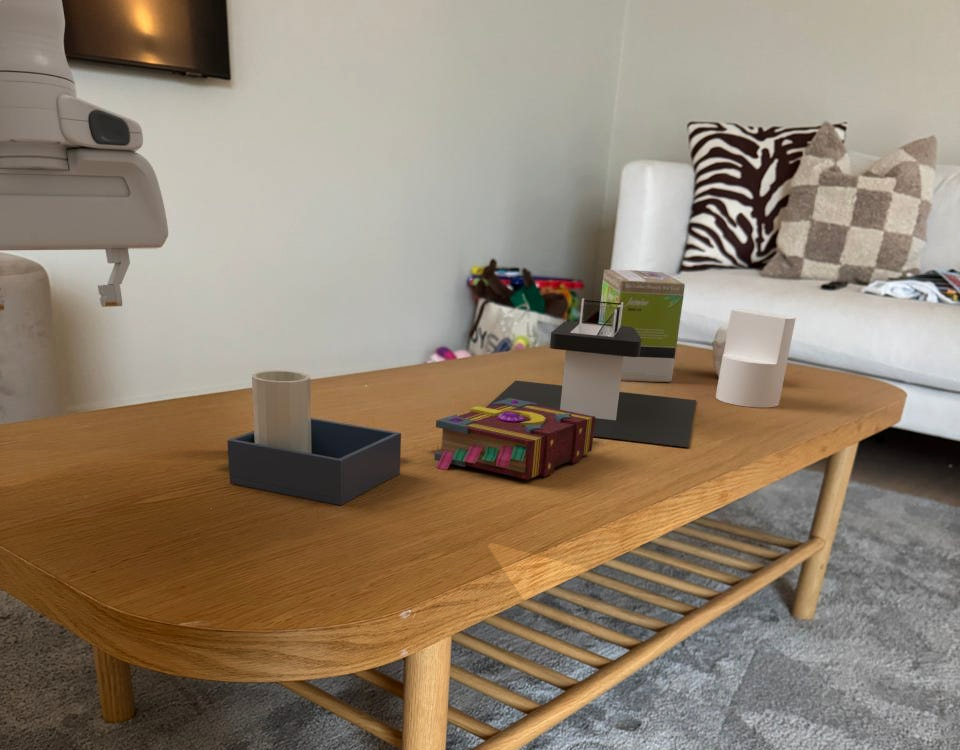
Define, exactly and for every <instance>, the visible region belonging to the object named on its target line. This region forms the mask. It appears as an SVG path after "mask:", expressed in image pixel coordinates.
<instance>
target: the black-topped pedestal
mask: <svg viewBox="0 0 960 750" xmlns="http://www.w3.org/2000/svg"><path fill="white" fill-rule="evenodd" d="M602 303H604V308H603V311H604V310H605V307H606V306H605V303H607V307H608V303H609V304H610V307H611V304H613V307H614V304H615V305H616V307H614V308H617V304H618V305H619V304H621V305H619V307H618V308H617V309H616V310H615V312H614V309H612V312H614V313H613V314H612V313H610V316H611V317H608V320H609V321H610V323H611V325H610V323H609V322H608V320H607V321H606V322H605V321H602V320H603V319H604V316H603V317H602V320H601V321H599V319H601V316H599V315H600V310H602V307H600V304H601V306H602ZM611 308H612V307H611ZM611 308H610V309H609V312H610V311H611ZM622 309H623V302H621V303H612V302H601V300H589V299H588V300H587V299H585V298H581V305H580V313H579V314H580V315H579V321H574V320H573V321H563V322H562V323H561V324H559V325H558V326H557V327H555V328H554V329H553V330H552V331H551V332H550V339H549V340H550V342H549V349H551V350H557V351H558V350H559V351H565V356H564V365H563V375H562V376H563V377H562V385H560V384H552V383H544V382H533V381H526V380H525V381H524V380H514V381H513V382H512V383H511V384H509V386H508V387H506V389H505V390H503V391H502V392H501V393H500V394H499V395H497V396H496V397H495V398H494V399H493V400H492V401H491V402H490V403H489V404H488V405H487V406H486V407H489V406H492V403H495V402H498V401H502V400H505V399H508V398H512V399H517V400H522V401H527V402H532V403H537V404H538V406H543V407H548V408H554V409H559V410H564V411H569V412H574V413H579V414H585V415H590V416H595V425H594V434H593V437H597V438H606V439H615V440H623V441H631V442H640V443H648V444H657V445H665V446H674V447H683V448H689V446H690V440H691V434H692V428H693V421H694V415H695V410H696V402H697V400H696V399H689V398H682V397H681V398H679V397H670V396H663V395H652V394H643V393H634V392H627V391H625V392H624V391H620V389H621V382H622V380H621V375H622V367H623V359H624V356H626V357H639V355H640V349H641V341H642V339H641V338H640V336H639V335H638V333H637V332H636V330H635V329H634V328H633V327H628V326H621V318H622ZM603 311H602V312H601V315H602V314H603ZM606 311H608V308H606ZM609 312H608V313H607V316H608V315H609ZM604 315H606V312H604ZM607 316H606V317H605V320H606V319H607ZM612 316H613V317H612ZM610 318H611V319H610ZM613 318H614V319H613ZM612 320H613V322H612ZM600 322H602V324H599V323H600ZM603 322H605V324H603ZM606 323H608V324H606Z"/></svg>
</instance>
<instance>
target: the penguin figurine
mask: <svg viewBox="0 0 960 750" xmlns="http://www.w3.org/2000/svg"><path fill="white" fill-rule="evenodd" d="M728 325H729V320H727V321H726V322H724V323H723V324H721V325H720V326H719V327H718V329H717V330H716V332H715V335H714V339H713V341H712V343H711V346H712V360H713V368H714V371H715V373H716V375H717V376H718V378H719V374H720V368H721V362H722V357H723V354H724V349H725V343H726V337H727V331H728Z"/></svg>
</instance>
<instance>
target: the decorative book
mask: <svg viewBox="0 0 960 750" xmlns="http://www.w3.org/2000/svg"><path fill="white" fill-rule="evenodd" d="M594 425H595V416H590V415H585V414H579V413H574V412H569V411H564V410H559V409H554V408H548V407H543V406H538V404H537V403H532V402H527V401H522V400H517V399H512V398H508V399H505V400H502V401H498V402H495V403H492V406H489V407H487V406H485V407H484V406H479V405H478V406H477V405H476V406H474V407H470V408H469V412H465V413H463V414H460V415H458V414H457V413H456V414H453V415H450V416H447V417H443V418H439V419H436V420H435V428H437V429H441V430H442V434H441V435H442V436H441V437H442V438H441V450H440V451H438V452H434V461H436V462H437V464H436V466H435V468H437V469H441V470H443V471H444V470H445V471H447V470H448V469H449V467H450V465H455V466H459V467H462V468H466V466H467V467H471V468H476V469H480V470H483V471H488V472H492V473H496V474H501V475H506V476H510V477H514V478H517V479H522V480H527V481H528V480H530V479H533V478H535V477H538V476H539V477H543V478H545V477H547V476H549V475H551V474H553V473H554V472H555V468H557V467H559V466H561V465H563V464H566V463H570V464H575V463H578V462H579V461H581V460H582V459H583V456H584V455H586V454H588V453H590V452H592V451H593V450H592V449H593V442H594V436H593V434H594Z"/></svg>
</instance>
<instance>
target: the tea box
mask: <svg viewBox="0 0 960 750" xmlns="http://www.w3.org/2000/svg"><path fill="white" fill-rule="evenodd" d="M685 285H686V283H684V282H682V281H680V280H678V279H676V278H674V277H671V276H670V275H668V274H666V273H664V272H661V271H650V270H637V269H636V270H633V269H604V270H603V275H602V285H601V294H600V295H601V297H600V301H601V302H612V303H621V302H623V309H622V318H621V326H628V327H633V328H634V329H635V330H636V332H637V333H638V335H639V336H640V338H641V339H642V341H641V349H640V355H639V357H626V356H624V359H623V367H622V375H621V381H626V382H628V381H629V382H651V383H671V382H672V379H673V375H674V368H675V362H676V361H675V359H676V352H677V347H678V337H679V331H680V324H681V316H682V311H683V310H682V309H683V303H684V295H685V287H686V286H685ZM619 305H621V304H619ZM619 305H618V304H617V308H618V307H619ZM605 306H606V307H605V310H604V311H603V308H604V303H602V306H601V303H599V308H600V307H602V310H600V309H599V311H600V314H599V315H598V317H599V316H601V319H599V318H598V320H599V321H601V320H602V317H603V316H604V319H603V320H602V321H605V322H606V321H607V320H608V317H611V316H610V313H612V314H613V313H614V312H615V310H616V309H617V308H614V307H616V305H615V304H614V307H613V304H611V307H612V308H611V307H610V304H609V303H608V307H607V303H605ZM606 308H608V311H606ZM610 308H611V311H610V312H609V309H610ZM612 309H614V312H612ZM602 311H603V314H602V315H601V312H602ZM604 312H606V315H604ZM608 312H609V315H608V316H607V313H608ZM606 316H607V319H606V320H605V317H606ZM612 317H613V316H612ZM610 319H611V318H610ZM613 319H614V318H613ZM599 321H598V324H602V322H600V323H599ZM605 322H603V324H605ZM608 322H609V323H610V321H609V320H608ZM612 322H613V320H612ZM606 324H608V323H606ZM610 325H611V323H610Z"/></svg>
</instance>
